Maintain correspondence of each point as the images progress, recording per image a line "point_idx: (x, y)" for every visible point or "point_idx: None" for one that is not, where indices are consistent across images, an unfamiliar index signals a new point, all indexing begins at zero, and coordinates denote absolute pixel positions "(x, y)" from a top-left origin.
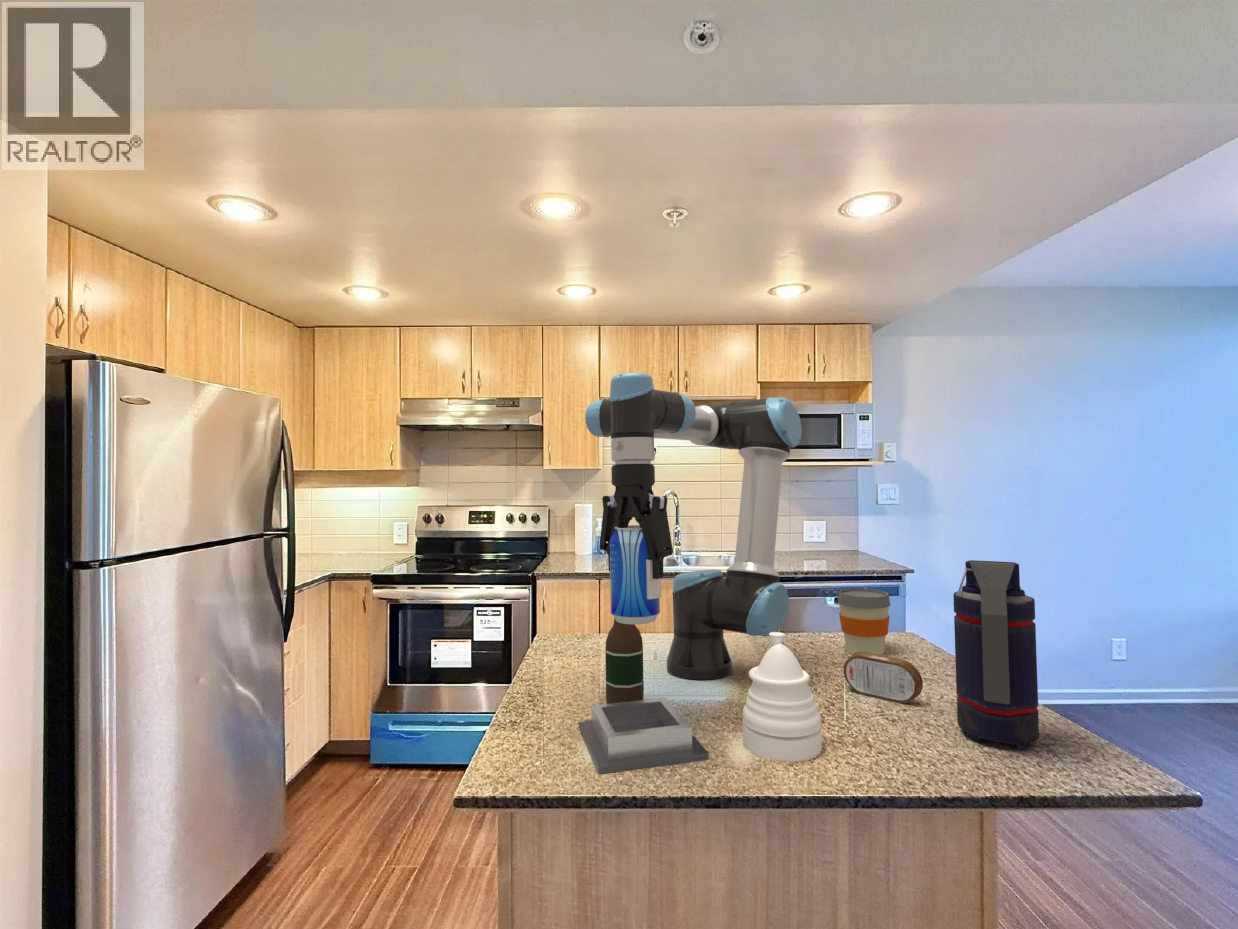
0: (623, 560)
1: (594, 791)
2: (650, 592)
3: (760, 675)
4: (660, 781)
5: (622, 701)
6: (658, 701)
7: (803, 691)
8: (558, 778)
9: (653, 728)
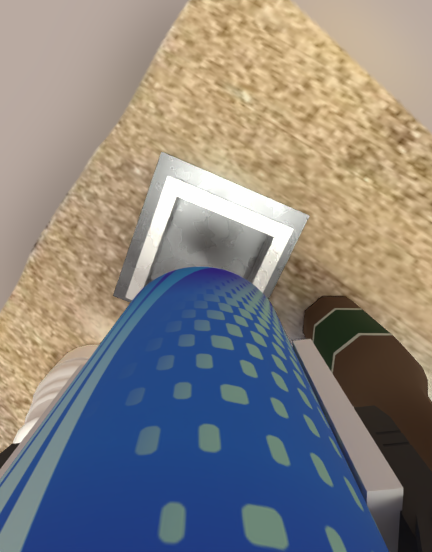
0: (79, 410)
1: (126, 120)
2: (67, 382)
3: None
4: (102, 208)
5: (316, 308)
6: None
7: None
8: (186, 97)
9: (154, 252)
